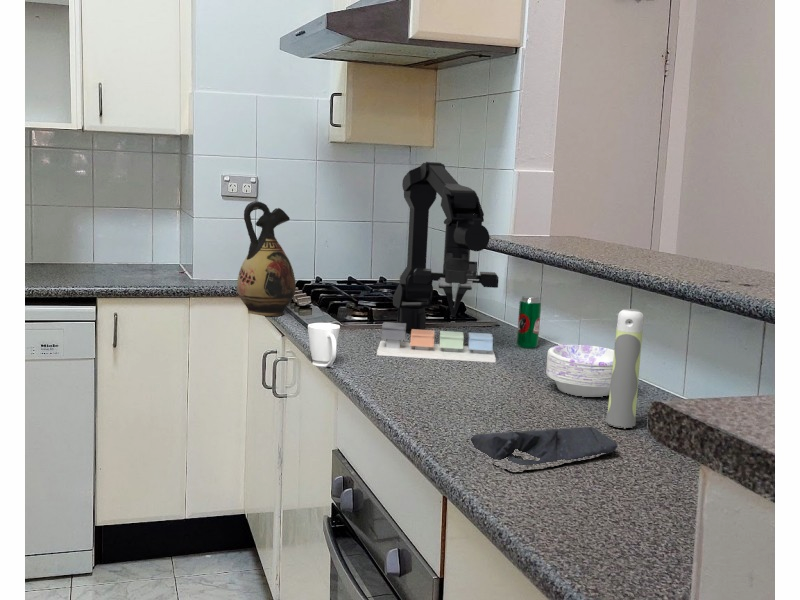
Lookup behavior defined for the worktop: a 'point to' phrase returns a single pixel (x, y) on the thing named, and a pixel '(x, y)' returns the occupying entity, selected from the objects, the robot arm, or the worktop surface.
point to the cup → (323, 343)
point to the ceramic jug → (266, 266)
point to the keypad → (433, 352)
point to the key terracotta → (422, 338)
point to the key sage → (451, 339)
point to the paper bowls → (581, 369)
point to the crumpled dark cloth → (545, 444)
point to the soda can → (528, 322)
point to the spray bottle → (625, 369)
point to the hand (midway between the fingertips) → (453, 316)
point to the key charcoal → (393, 331)
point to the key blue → (480, 341)
